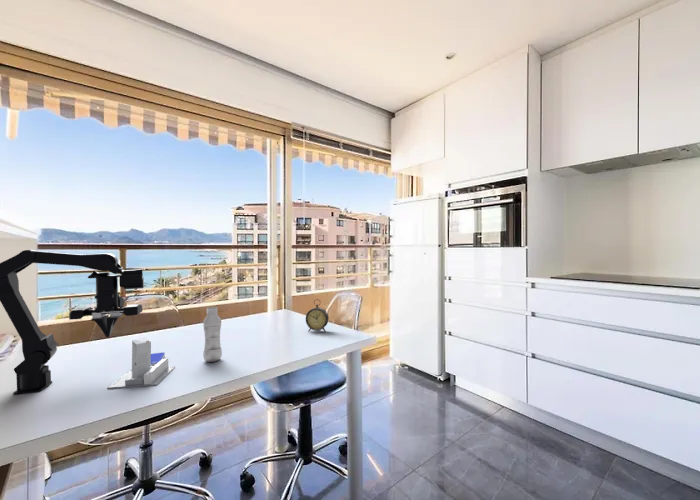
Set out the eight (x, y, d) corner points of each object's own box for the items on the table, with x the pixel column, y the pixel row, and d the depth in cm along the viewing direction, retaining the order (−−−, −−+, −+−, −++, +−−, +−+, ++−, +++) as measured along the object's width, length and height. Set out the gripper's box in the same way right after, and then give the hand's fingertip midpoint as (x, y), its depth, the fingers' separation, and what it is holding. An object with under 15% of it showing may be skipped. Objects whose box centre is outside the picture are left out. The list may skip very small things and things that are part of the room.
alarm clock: (305, 332, 152) (305, 299, 152) (308, 329, 158) (308, 297, 157) (326, 333, 151) (326, 300, 150) (329, 330, 156) (329, 298, 156)
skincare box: (131, 376, 102) (130, 340, 102) (147, 372, 106) (146, 336, 105) (135, 382, 98) (134, 344, 98) (152, 377, 101) (151, 341, 101)
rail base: (107, 388, 94) (107, 376, 94) (132, 370, 108) (131, 359, 108) (156, 385, 97) (156, 373, 96) (175, 367, 110) (174, 356, 110)
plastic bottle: (217, 356, 121) (217, 305, 121) (225, 360, 116) (224, 308, 116) (200, 360, 117) (199, 308, 116) (207, 365, 112) (206, 310, 111)
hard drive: (159, 362, 110) (164, 352, 121) (131, 365, 107) (140, 354, 118) (159, 366, 110) (164, 356, 121) (131, 370, 107) (140, 359, 118)
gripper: (146, 286, 114) (147, 327, 115) (84, 288, 108) (86, 332, 108) (136, 290, 104) (137, 336, 104) (67, 293, 97) (69, 342, 98)
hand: (108, 336), depth 104 cm, fingers closed
